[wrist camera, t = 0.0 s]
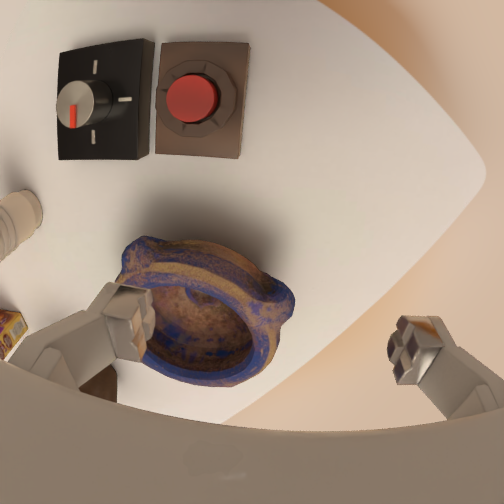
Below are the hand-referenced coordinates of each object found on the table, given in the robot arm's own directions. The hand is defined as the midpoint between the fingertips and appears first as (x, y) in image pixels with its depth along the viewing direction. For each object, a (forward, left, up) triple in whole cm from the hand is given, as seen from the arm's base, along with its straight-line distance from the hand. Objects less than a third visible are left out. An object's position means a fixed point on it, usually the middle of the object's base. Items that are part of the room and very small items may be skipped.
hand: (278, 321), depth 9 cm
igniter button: (-6, -8, -19) cm, 21 cm away
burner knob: (-6, -18, -20) cm, 27 cm away
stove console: (-6, -18, -23) cm, 30 cm away
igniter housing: (-6, -8, -23) cm, 25 cm away
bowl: (+15, -6, -23) cm, 28 cm away
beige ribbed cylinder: (+7, -32, -23) cm, 40 cm away
